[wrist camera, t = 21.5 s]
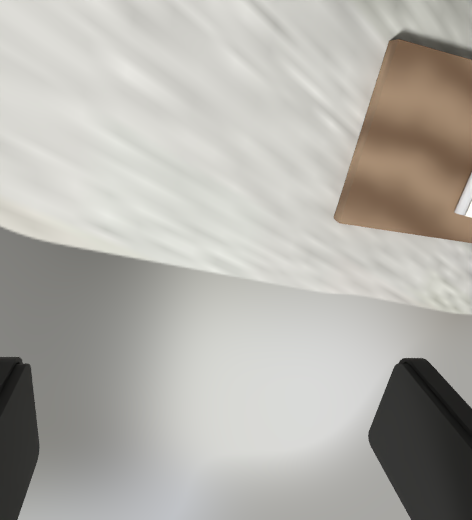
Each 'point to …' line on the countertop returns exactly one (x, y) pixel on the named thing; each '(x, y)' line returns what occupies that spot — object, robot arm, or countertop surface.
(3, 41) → the countertop surface
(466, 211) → the tile
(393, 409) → the robot arm
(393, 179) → the board
